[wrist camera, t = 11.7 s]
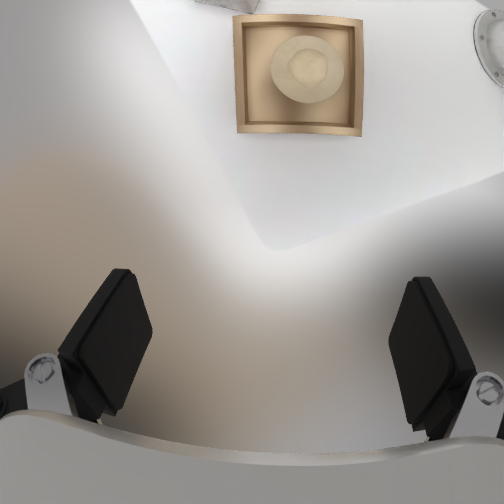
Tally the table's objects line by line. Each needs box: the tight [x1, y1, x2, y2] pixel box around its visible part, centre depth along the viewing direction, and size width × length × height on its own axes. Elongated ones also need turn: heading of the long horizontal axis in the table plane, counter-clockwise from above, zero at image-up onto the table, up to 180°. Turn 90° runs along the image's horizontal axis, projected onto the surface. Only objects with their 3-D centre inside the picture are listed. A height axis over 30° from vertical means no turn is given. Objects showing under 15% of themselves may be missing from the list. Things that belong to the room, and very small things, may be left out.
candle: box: [270, 35, 344, 103], centre depth 22 cm, size 6×6×10 cm
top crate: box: [233, 14, 364, 137], centre depth 26 cm, size 12×12×4 cm
